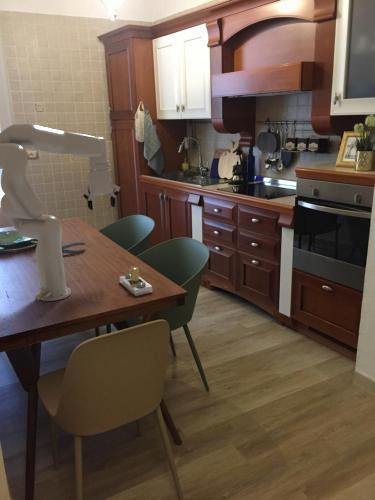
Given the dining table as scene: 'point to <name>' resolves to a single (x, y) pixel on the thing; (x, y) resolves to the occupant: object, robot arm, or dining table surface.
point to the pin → (134, 275)
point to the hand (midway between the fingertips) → (102, 208)
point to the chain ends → (136, 285)
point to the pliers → (73, 250)
